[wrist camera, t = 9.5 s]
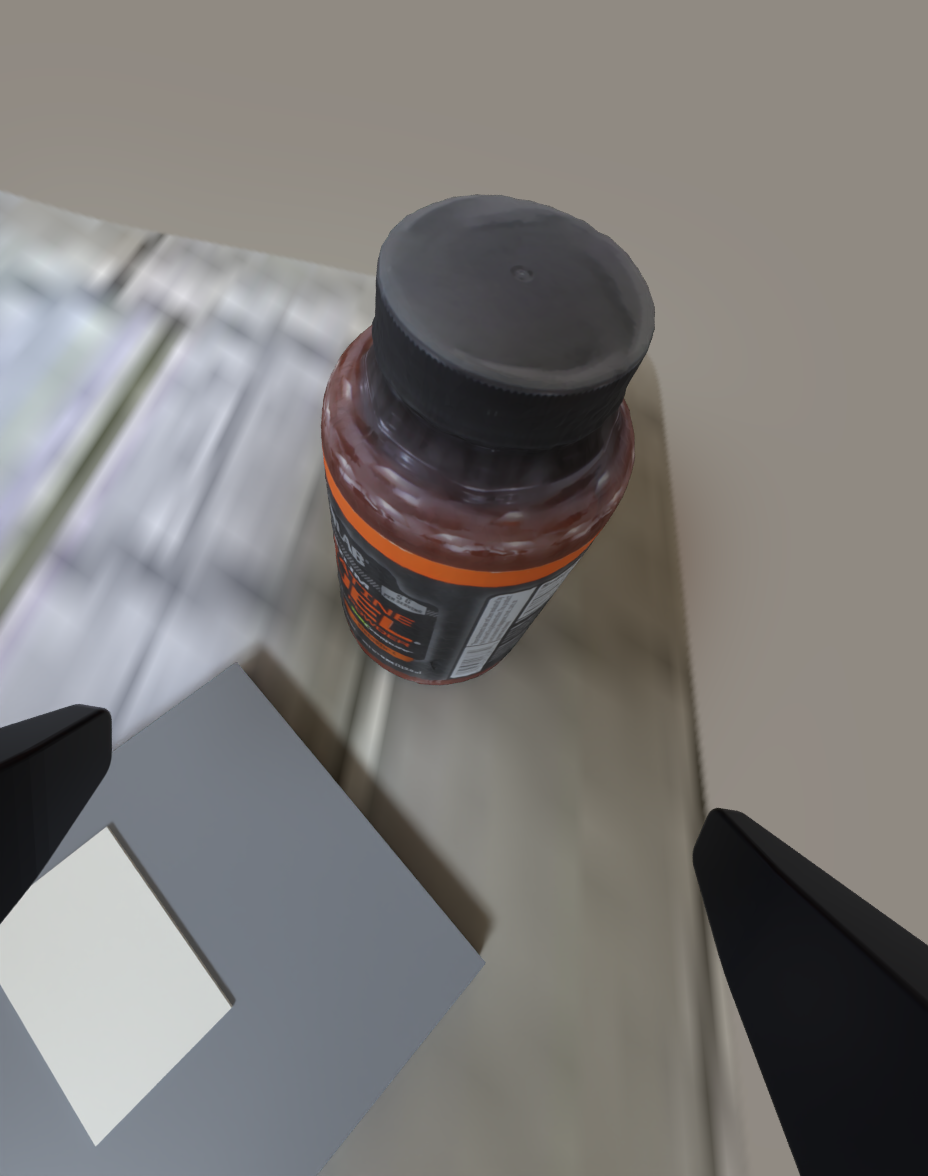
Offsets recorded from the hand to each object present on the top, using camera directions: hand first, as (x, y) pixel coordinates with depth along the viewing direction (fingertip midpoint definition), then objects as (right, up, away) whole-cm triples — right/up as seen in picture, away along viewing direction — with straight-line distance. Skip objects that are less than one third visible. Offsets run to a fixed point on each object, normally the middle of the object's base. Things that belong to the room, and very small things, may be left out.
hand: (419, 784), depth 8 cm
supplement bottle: (0, +2, +10) cm, 10 cm away
